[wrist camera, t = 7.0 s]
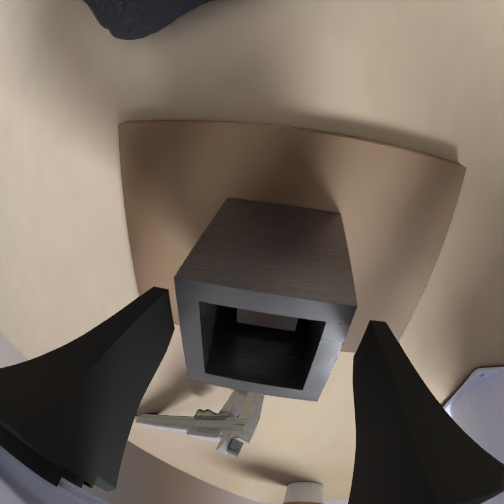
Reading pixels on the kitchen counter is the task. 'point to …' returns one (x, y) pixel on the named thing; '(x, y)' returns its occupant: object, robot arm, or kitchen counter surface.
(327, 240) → the steel collar
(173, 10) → the dark slate chunk
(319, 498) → the coffee cup
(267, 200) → the post base
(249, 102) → the kitchen counter surface
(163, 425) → the caliper
